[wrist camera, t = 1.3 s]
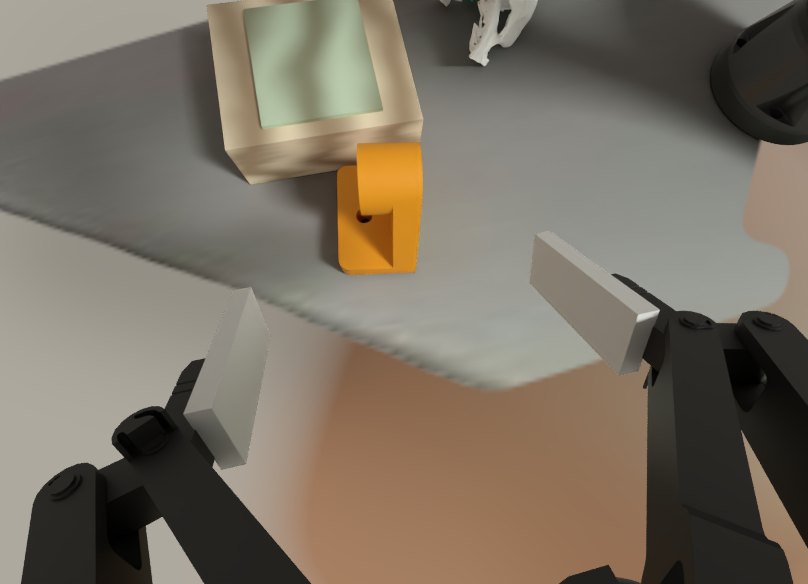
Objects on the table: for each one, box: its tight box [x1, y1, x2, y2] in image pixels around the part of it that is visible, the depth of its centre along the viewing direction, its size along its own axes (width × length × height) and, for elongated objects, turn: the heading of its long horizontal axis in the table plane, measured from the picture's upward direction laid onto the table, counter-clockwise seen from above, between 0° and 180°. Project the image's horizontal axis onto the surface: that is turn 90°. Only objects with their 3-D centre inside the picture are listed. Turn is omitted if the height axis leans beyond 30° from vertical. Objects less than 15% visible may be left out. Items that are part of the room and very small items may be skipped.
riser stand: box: [207, 0, 423, 185], centre depth 37 cm, size 18×16×6 cm
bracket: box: [337, 142, 423, 275], centre depth 31 cm, size 11×7×12 cm, turn 3°
